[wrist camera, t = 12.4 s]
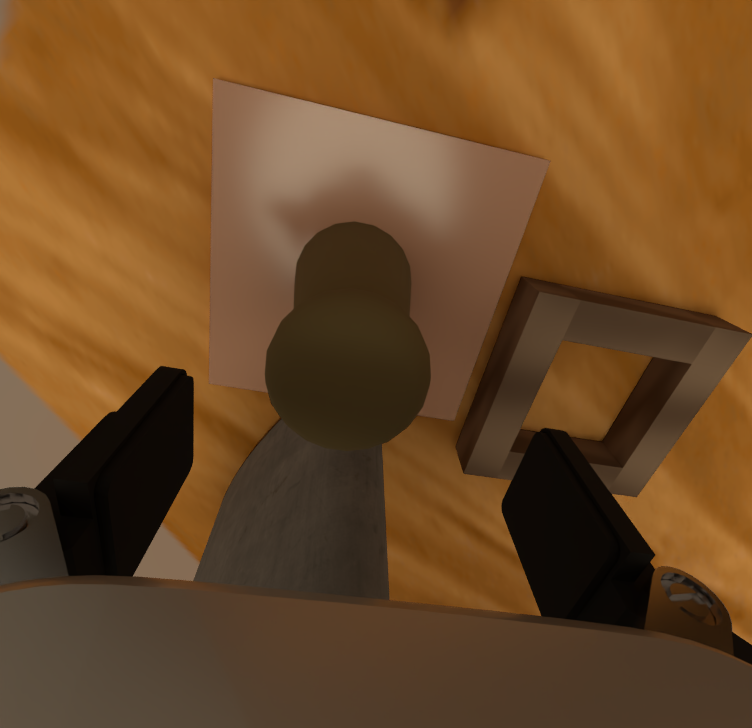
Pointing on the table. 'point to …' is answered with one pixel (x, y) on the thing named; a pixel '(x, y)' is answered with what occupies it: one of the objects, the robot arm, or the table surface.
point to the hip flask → (302, 521)
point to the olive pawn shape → (349, 343)
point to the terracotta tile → (360, 204)
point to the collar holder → (608, 330)
